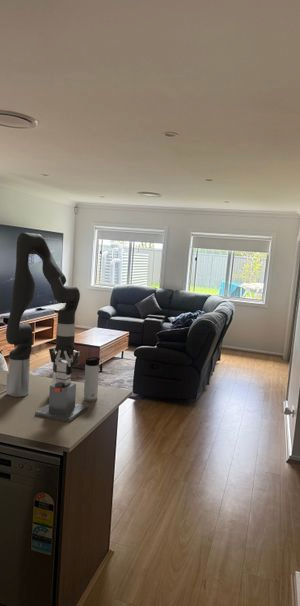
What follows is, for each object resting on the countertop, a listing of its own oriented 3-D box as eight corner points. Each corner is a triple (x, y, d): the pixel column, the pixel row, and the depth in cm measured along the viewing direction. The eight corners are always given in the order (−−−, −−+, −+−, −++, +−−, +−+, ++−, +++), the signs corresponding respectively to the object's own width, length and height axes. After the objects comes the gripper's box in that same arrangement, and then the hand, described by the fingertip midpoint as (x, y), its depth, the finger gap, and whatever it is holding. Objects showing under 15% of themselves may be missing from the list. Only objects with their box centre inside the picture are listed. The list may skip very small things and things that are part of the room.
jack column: (54, 403, 174) (56, 362, 172) (60, 400, 178) (62, 359, 176) (64, 405, 172) (66, 363, 170) (69, 402, 177) (71, 361, 175)
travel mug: (95, 402, 190) (97, 359, 188) (81, 400, 191) (83, 358, 189) (99, 397, 196) (101, 356, 194) (86, 396, 197) (88, 355, 195)
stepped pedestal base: (35, 415, 170) (36, 384, 169) (54, 403, 185) (56, 374, 184) (69, 422, 166) (71, 390, 164) (87, 409, 181) (88, 379, 179)
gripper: (45, 333, 170) (43, 373, 172) (76, 337, 166) (74, 378, 168) (54, 330, 177) (53, 369, 179) (85, 334, 173) (83, 374, 175)
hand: (63, 373), depth 174 cm, fingers closed on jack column, 4 cm apart
